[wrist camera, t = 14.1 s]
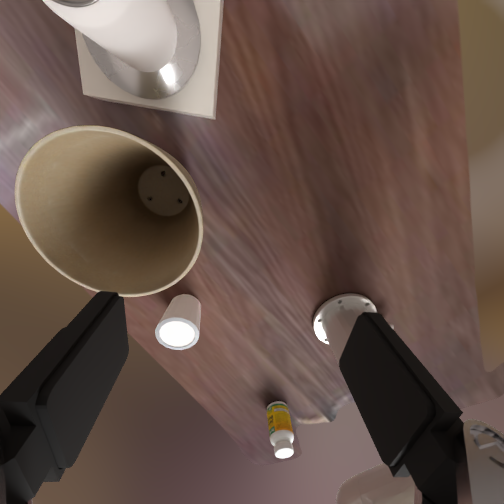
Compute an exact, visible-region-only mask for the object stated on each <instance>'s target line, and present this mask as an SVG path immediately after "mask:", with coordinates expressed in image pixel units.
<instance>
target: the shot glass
mask: <svg viewBox="0 0 504 504" xmlns="http://www.w3.org/2000/svg"><path fill="white" fill-rule="evenodd" d="M200 314H201V304H200V302H199V300H198V299H196V298H195V297H194V296H191V295H189V294H181V295H178V296H176V297H174V298H173V299H172V301H171V302H170V304H169V306H168V308H167V310H166V311H165V313H164V315H163V317H162V318H161V320H160V322H159V324H158V326H157V328H156V330H155V334H156V338H157V339H158V341H159V343H161V344H162V345H164V346H165V347H167V348H170V349H174V350H183V349H187V348H190V347H191V346H193V345H194V344H196V342H197V341H198V339H199V329H200Z"/></svg>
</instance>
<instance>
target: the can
mask: <svg viewBox="0 0 504 504" xmlns="http://www.w3.org/2000/svg"><path fill="white" fill-rule="evenodd" d="M42 1H43V2H44V3H45V4H46V5H47V6H48V7H49V8H50V9H51V10H52V11H54V12H55V13H56V14H57V15H58V16H60V17H61V18H62V19H63V20H65V21H66V22H68V23H69V24H70V25H72V26H73V27H74V28H76V29H77V30H79V31H80V32H81V33H83V34H84V35H86V36H87V37H89V38H90V39H91V40H93V41H94V42H96V43H97V44H98V45H100V46H101V47H103V48H104V49H106V50H107V51H108V52H110V53H111V54H113V55H114V56H116V57H117V58H119V59H120V60H121V61H123V62H124V63H126V64H127V65H129V66H131V67H132V68H134V69H136V70H139V71H142V72H155V71H158V70H160V69H162V68H164V67H165V66H166V65H167V64H168V63H169V62H170V60H171V59H172V57H173V55H174V52H175V49H176V44H177V29H176V24H175V20H174V17H173V14H172V11H171V9H170V6H169V4H168V2H167V0H42Z"/></svg>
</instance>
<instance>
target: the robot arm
mask: <svg viewBox="0 0 504 504" xmlns="http://www.w3.org/2000/svg"><path fill="white" fill-rule="evenodd" d="M393 328H394V326H393V324H392V323H387V322H386V320H385V319H384V318H383V317H382V316H381V315H380V314H379V313H377V309H376V307H375V305H374V304H373V303H372V302H371V301H370V300H369V299H368V298H367V297H365V296H363V295H359V294H353V293H349V294H342V295H338V296H335V297H333V298H331V299H329V300H328V301H326V302H325V303H324V304H322V305H321V306H320V308H319V309H318V310H317V312H316V313H315V316H314V318H313V329H314V331H315V334H316V335H317V337H318V338H319V339H320V340H321V341H322V342H324V343H326V344H329V345H330V348H331V350H332V352H333V354H334V356H335V358H336V361H337V363H338V365H339V367H340V370H341V372H342V374H343V377H344V379H345V381H346V383H347V385H348V388H349V390H350V392H351V394H352V396H353V398H354V401H355V402H356V405H357V407H358V409H359V411H360V413H361V416H362V418H363V420H364V422H365V424H366V427H367V429H368V431H369V433H370V435H371V438H372V440H373V442H374V444H375V446H376V448H377V451H378V452H379V455H380V457H381V459H382V461H383V462H384V463H382V464H380V465H378V466H376V467H373V468H371V469H368V470H366V471H364V472H362V473H360V474H357V475H355V476H353V477H352V478H350V479H348V480H346V481H345V482H344V483H343V484H342V485H341V487H340V488H339V490H338V493H337V499H336V504H504V434H502V433H501V432H500V431H498V430H496V429H495V428H493V427H492V426H490V425H488V424H486V423H484V422H482V421H478V420H474V419H470V420H466V421H465V422H464V423H463V422H462V421H461V419H460V418H459V417H460V416H461V414H462V413H463V412H462V411H461V410H460V409H459V407H458V406H457V405H456V404H455V403H454V401H453V400H452V399H451V398H450V397H449V395H448V394H447V393H446V392H445V391H444V390H443V388H442V387H441V386H440V385H439V384H438V382H437V381H436V380H435V379H434V378H433V376H432V375H431V374H430V373H429V372H428V370H427V369H426V368H425V367H424V366H423V364H422V363H421V362H420V361H419V360H418V359H417V357H416V356H415V355H414V354H413V353H412V351H411V350H410V349H409V348H408V347H407V345H406V344H405V343H404V342H403V341H402V339H401V338H400V337H399V336H398V335H397V333H396V332H395V331H394V330H393ZM128 351H129V346H128V337H127V327H126V317H125V307H124V299H123V297H121V296H119V294H118V293H117V292H108V291H99V292H98V293H97V294H96V295H95V296H94V297H93V298H92V299H91V300H90V301H89V303H88V304H87V305H86V306H85V307H84V308H83V309H82V310H81V311H80V312H79V314H78V315H77V316H76V317H75V318H74V319H73V320H72V321H71V322H70V323H69V325H68V326H67V327H65V328H63V329H61V330H60V331H59V332H58V333H57V334H56V335H55V337H54V338H53V339H52V340H51V341H50V342H49V343H48V344H47V345H46V346H45V347H44V348H43V349H42V350H41V352H40V353H39V354H38V355H37V356H36V357H35V358H34V359H33V360H32V361H31V362H30V363H29V365H28V366H27V367H26V368H25V369H24V370H23V371H22V372H21V373H20V374H19V375H18V376H17V377H16V379H15V380H14V381H13V382H12V383H11V384H10V385H9V386H8V387H7V389H5V390H4V391H3V393H2V394H1V395H0V504H32V498H33V497H35V495H36V493H37V491H38V490H39V488H40V486H41V484H42V483H43V482H57V481H60V479H61V477H62V474H63V473H64V471H65V469H66V468H70V467H71V466H72V465H73V464H74V463H75V461H76V459H77V457H78V455H79V453H80V451H81V449H82V447H83V445H84V443H85V441H86V439H87V437H88V435H89V433H90V431H91V429H92V427H93V425H94V423H95V421H96V419H97V417H98V415H99V413H100V411H101V409H102V407H103V405H104V403H105V401H106V399H107V397H108V395H109V393H110V391H111V389H112V387H113V385H114V383H115V381H116V379H117V377H118V375H119V373H120V371H121V369H122V367H123V365H124V363H125V361H126V359H127V356H128Z"/></svg>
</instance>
